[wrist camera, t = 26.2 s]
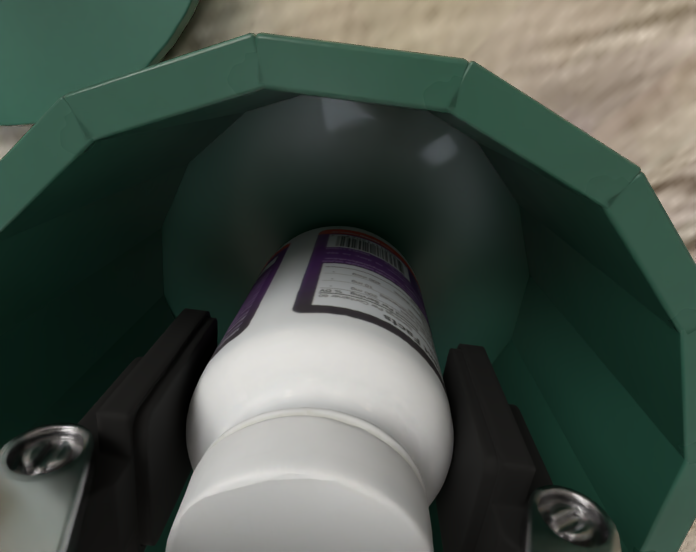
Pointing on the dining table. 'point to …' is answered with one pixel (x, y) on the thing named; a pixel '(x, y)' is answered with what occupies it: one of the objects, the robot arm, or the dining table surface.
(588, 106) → the dining table surface
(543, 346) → the tin
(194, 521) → the pill bottle
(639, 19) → the dining table surface
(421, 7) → the dining table surface
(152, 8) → the lid
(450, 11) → the dining table surface
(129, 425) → the robot arm
